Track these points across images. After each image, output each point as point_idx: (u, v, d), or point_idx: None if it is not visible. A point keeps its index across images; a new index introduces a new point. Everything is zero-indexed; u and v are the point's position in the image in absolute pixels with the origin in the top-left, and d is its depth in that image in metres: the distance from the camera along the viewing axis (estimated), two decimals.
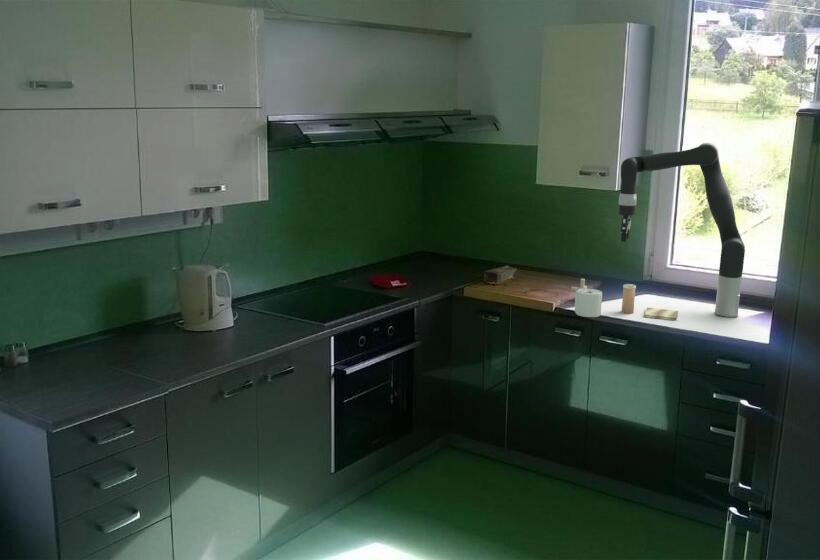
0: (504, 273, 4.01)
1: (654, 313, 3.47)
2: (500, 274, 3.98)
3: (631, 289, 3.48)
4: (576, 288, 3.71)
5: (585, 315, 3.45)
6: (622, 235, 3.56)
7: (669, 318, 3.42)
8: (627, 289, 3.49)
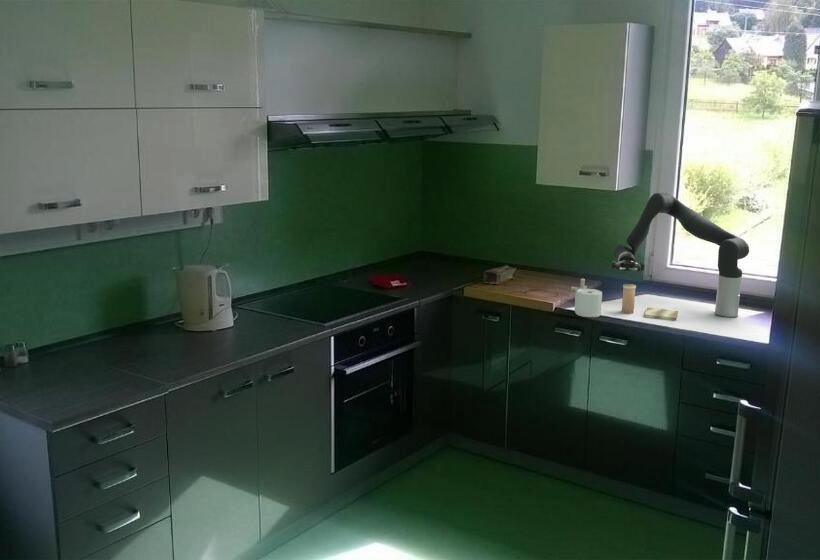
0: (503, 273, 4.01)
1: (654, 313, 3.47)
2: (499, 274, 3.99)
3: (631, 289, 3.48)
4: (576, 288, 3.71)
5: (585, 315, 3.45)
6: (616, 267, 3.64)
7: (669, 318, 3.42)
8: (627, 289, 3.49)
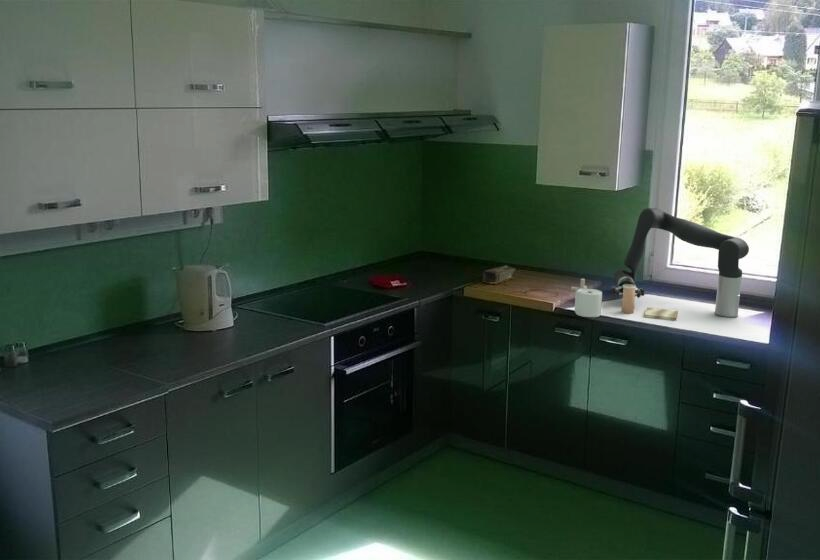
0: (503, 273, 4.02)
1: (654, 313, 3.47)
2: (499, 274, 3.99)
3: (631, 289, 3.48)
4: (576, 288, 3.71)
5: (585, 315, 3.45)
6: (615, 293, 3.59)
7: (669, 318, 3.42)
8: (627, 289, 3.49)
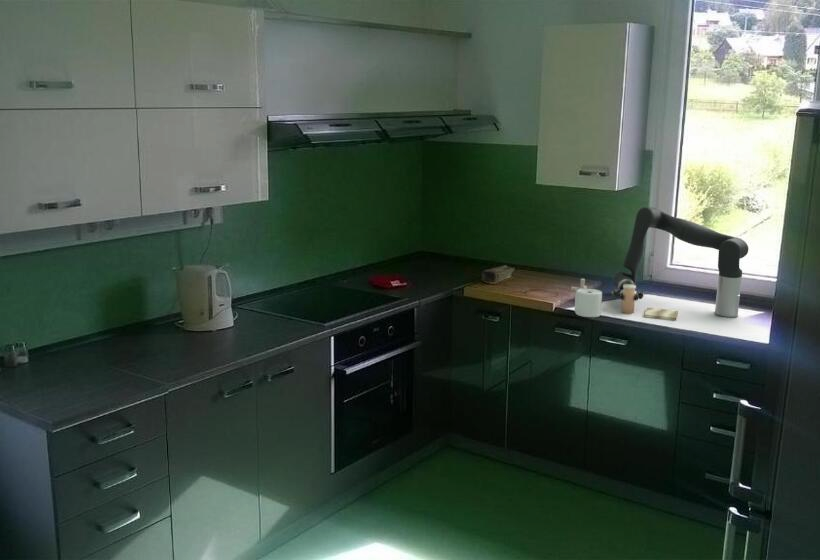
0: (502, 273, 4.02)
1: (654, 313, 3.47)
2: (498, 274, 3.99)
3: (631, 289, 3.48)
4: (576, 288, 3.71)
5: (585, 315, 3.45)
6: (619, 297, 3.53)
7: (669, 318, 3.42)
8: (627, 289, 3.49)
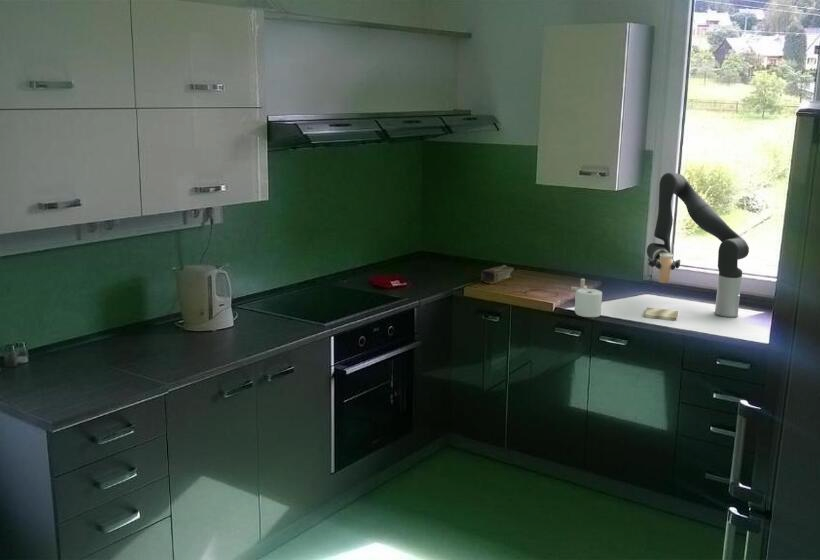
0: (501, 272, 4.02)
1: (654, 313, 3.47)
2: (497, 273, 4.00)
3: (668, 258, 3.41)
4: (576, 288, 3.71)
5: (585, 315, 3.45)
6: (656, 266, 3.45)
7: (669, 318, 3.42)
8: (664, 258, 3.41)
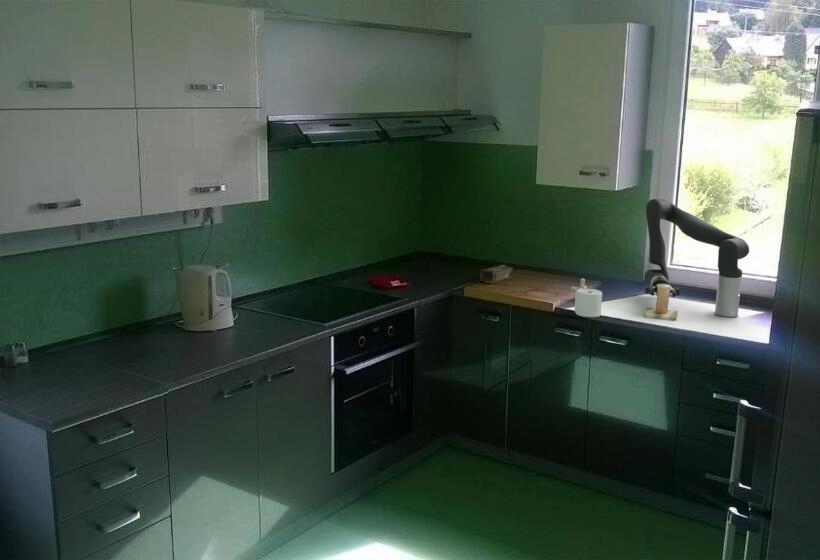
0: (500, 272, 4.03)
1: (654, 313, 3.47)
2: (496, 273, 4.00)
3: (666, 288, 3.45)
4: (576, 288, 3.71)
5: (585, 315, 3.45)
6: (650, 293, 3.49)
7: (669, 318, 3.42)
8: (662, 288, 3.45)
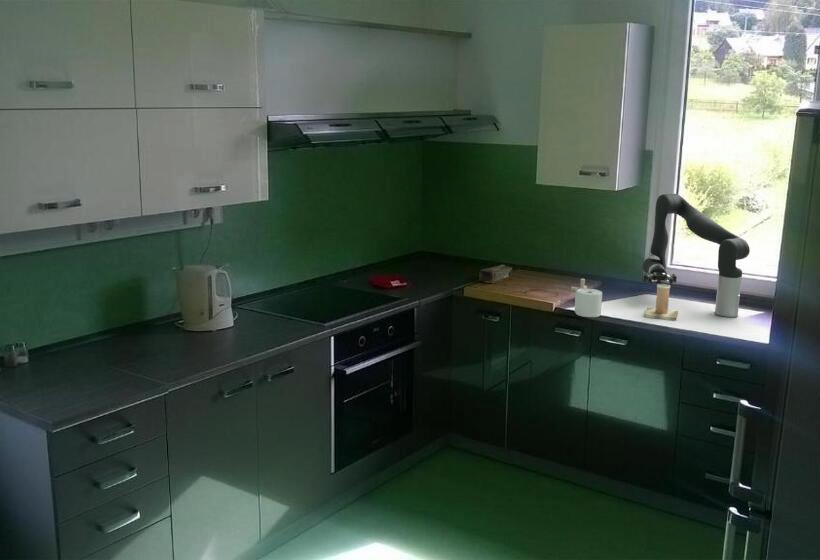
0: (499, 272, 4.03)
1: (654, 313, 3.47)
2: (495, 273, 4.01)
3: (665, 289, 3.44)
4: (576, 288, 3.71)
5: (585, 315, 3.45)
6: None
7: (669, 318, 3.42)
8: (661, 289, 3.45)
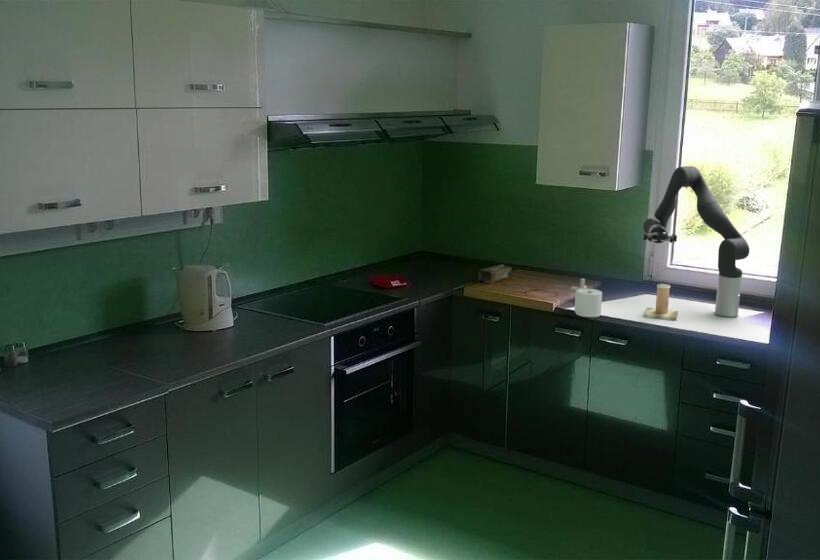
0: (498, 272, 4.04)
1: (654, 313, 3.47)
2: (494, 273, 4.01)
3: (665, 289, 3.44)
4: (576, 288, 3.71)
5: (585, 315, 3.45)
6: (648, 239, 3.61)
7: (669, 318, 3.42)
8: (661, 289, 3.45)
